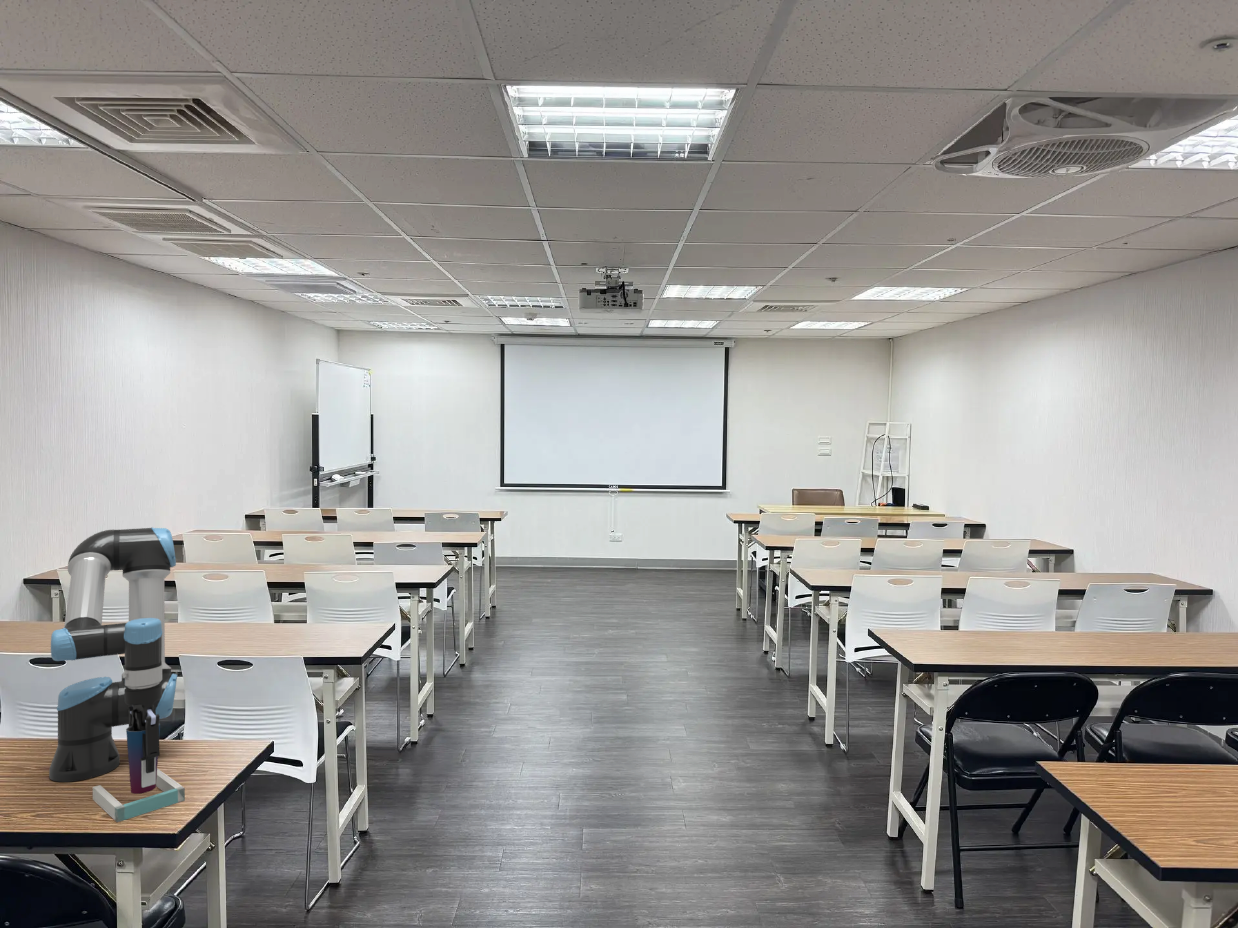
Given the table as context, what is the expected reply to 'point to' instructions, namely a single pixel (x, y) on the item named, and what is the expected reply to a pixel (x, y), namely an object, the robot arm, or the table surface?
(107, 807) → the bay
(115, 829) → the table surface
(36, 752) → the table surface
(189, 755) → the table surface
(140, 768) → the cup
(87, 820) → the table surface
